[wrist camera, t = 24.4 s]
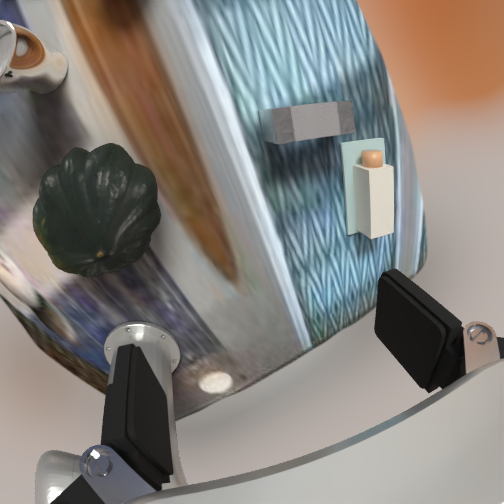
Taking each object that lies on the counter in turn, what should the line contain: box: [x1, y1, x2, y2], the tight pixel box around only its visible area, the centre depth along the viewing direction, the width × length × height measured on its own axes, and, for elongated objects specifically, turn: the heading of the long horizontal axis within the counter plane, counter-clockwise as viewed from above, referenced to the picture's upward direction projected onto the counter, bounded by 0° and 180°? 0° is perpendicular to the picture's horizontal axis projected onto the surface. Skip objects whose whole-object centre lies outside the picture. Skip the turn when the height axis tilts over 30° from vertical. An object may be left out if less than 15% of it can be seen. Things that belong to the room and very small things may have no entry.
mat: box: [340, 138, 385, 235], centre depth 43 cm, size 14×8×1 cm, turn 10°
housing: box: [258, 101, 355, 144], centre depth 34 cm, size 4×10×6 cm, turn 100°
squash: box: [33, 143, 161, 278], centre depth 30 cm, size 14×15×15 cm
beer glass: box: [0, 20, 68, 94], centre depth 20 cm, size 7×7×15 cm
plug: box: [353, 150, 394, 239], centre depth 41 cm, size 12×4×4 cm, turn 10°
